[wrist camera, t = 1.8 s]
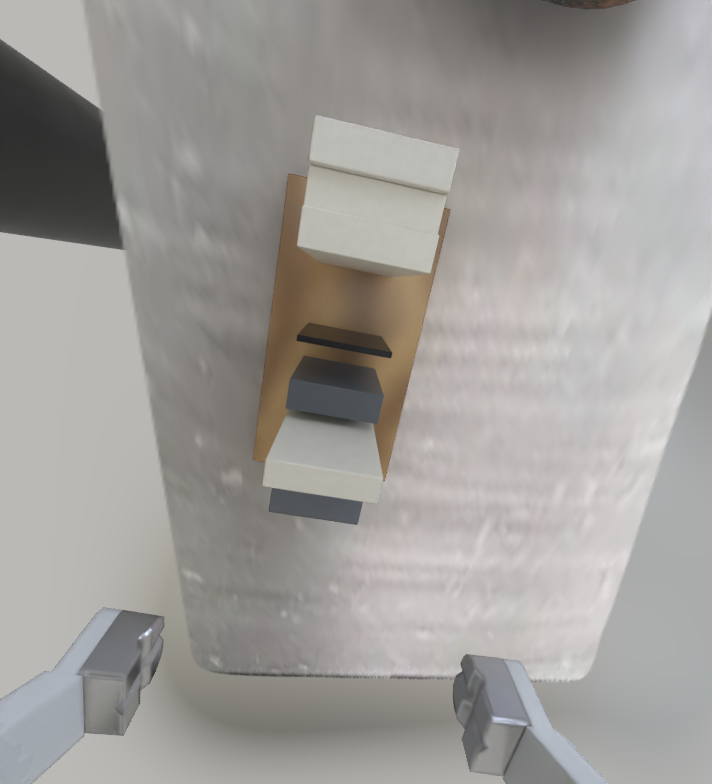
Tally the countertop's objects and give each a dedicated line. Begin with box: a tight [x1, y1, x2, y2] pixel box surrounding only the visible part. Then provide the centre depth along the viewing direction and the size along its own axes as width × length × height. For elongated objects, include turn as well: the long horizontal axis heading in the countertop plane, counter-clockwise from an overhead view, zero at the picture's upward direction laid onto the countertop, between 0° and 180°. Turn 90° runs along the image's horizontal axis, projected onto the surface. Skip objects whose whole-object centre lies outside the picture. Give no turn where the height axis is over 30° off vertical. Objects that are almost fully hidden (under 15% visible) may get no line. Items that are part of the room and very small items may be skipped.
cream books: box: [297, 115, 459, 277], centre depth 21 cm, size 6×5×13 cm
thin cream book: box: [262, 409, 383, 504], centre depth 25 cm, size 6×2×13 cm, turn 79°
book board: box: [253, 174, 450, 481], centre depth 30 cm, size 12×23×1 cm, turn 169°
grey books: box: [269, 356, 384, 525], centre depth 27 cm, size 6×9×8 cm, turn 169°
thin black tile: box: [296, 323, 392, 358], centre depth 26 cm, size 6×1×7 cm, turn 79°
